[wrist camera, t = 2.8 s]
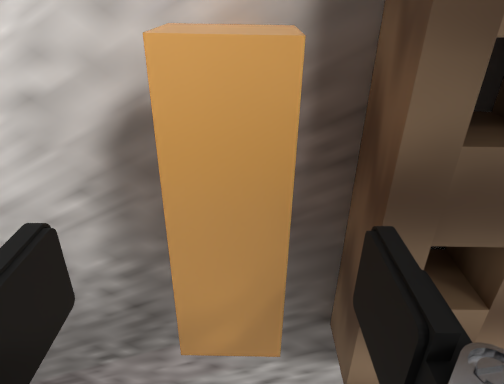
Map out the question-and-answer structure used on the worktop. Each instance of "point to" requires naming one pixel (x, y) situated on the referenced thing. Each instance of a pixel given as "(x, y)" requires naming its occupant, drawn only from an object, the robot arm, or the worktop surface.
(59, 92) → the worktop surface
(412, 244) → the rail
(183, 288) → the orange block
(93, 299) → the worktop surface
